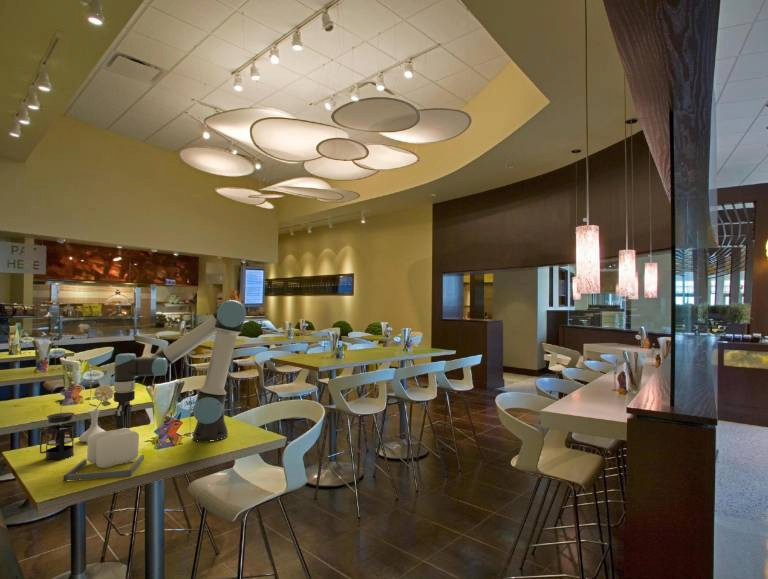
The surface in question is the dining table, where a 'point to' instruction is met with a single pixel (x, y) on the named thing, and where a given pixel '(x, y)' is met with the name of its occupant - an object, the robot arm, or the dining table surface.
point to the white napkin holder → (113, 447)
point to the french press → (59, 436)
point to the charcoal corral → (106, 474)
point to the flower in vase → (97, 410)
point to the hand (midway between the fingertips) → (122, 448)
